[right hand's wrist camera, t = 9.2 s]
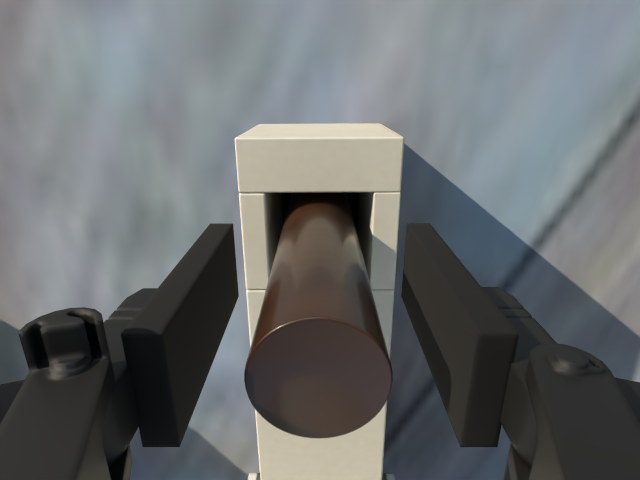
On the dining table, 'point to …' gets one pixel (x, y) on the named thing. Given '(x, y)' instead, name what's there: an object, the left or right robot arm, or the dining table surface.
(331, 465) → the peg block
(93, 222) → the dining table surface
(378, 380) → the walnut peg
